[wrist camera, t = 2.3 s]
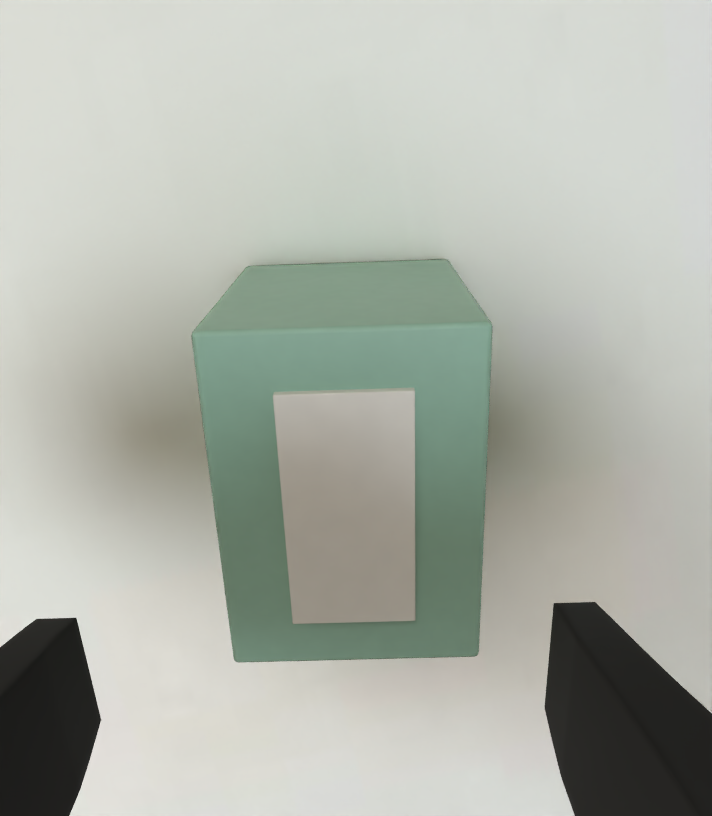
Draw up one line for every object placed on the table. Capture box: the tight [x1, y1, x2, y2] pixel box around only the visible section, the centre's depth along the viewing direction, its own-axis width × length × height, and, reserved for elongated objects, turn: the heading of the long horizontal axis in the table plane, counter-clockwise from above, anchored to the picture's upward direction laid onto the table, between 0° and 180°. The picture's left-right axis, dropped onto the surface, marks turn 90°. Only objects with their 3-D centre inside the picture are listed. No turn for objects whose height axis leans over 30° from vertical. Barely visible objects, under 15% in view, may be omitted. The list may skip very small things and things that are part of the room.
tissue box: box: [191, 259, 493, 662], centre depth 15 cm, size 5×7×6 cm
